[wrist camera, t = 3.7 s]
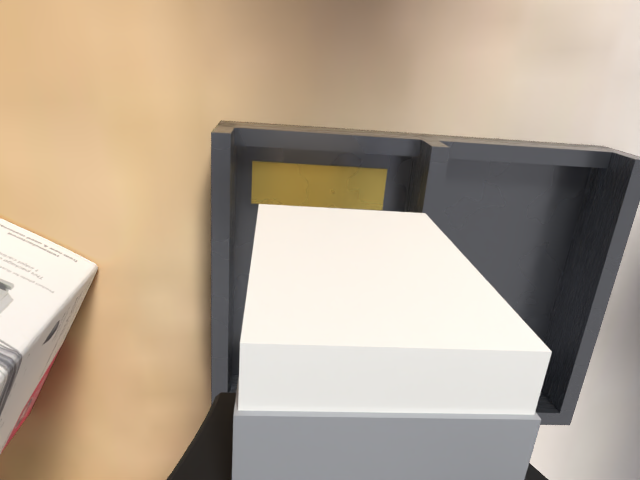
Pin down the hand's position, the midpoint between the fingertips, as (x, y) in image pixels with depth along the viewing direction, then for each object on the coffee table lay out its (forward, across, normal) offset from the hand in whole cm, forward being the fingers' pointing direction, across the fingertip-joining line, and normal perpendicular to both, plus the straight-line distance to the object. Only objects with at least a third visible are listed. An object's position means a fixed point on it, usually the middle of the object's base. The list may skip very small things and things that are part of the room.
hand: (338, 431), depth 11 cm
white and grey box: (+2, 0, 0) cm, 3 cm away
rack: (+10, -4, 0) cm, 11 cm away
